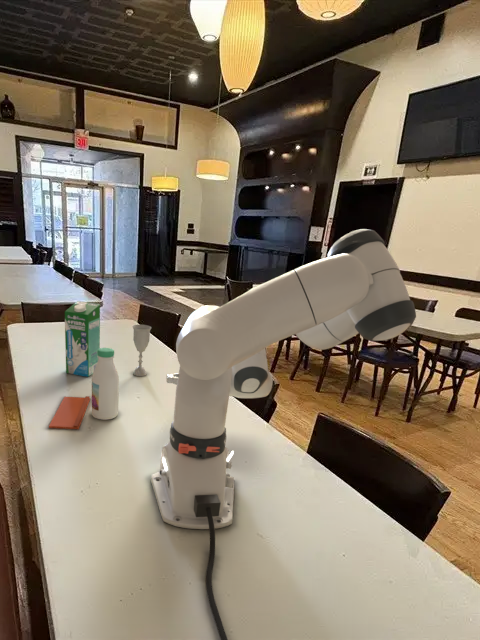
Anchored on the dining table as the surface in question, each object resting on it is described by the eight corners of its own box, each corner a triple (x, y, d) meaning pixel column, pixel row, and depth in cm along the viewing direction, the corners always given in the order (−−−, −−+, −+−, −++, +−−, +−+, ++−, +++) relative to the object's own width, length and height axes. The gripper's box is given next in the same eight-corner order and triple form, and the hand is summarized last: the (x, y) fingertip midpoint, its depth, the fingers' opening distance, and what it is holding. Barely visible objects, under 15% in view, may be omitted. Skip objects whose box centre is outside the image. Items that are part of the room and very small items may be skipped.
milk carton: (65, 372, 150) (64, 304, 141) (78, 365, 158) (77, 300, 149) (88, 377, 148) (88, 308, 139) (99, 369, 156) (100, 303, 147)
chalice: (128, 371, 157) (129, 324, 151) (144, 369, 160) (147, 324, 153) (134, 377, 151) (136, 329, 144) (151, 376, 154) (154, 329, 147)
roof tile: (78, 429, 112) (78, 425, 112) (48, 428, 111) (48, 424, 111) (90, 399, 130) (90, 396, 130) (64, 398, 130) (64, 395, 130)
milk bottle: (120, 409, 125) (121, 346, 118) (115, 421, 118) (117, 354, 111) (94, 407, 125) (94, 344, 118) (88, 419, 118) (88, 352, 111)
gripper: (211, 359, 127) (166, 356, 126) (220, 384, 108) (168, 380, 107) (209, 378, 130) (165, 375, 129) (218, 405, 111) (166, 402, 110)
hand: (166, 378), depth 118 cm, fingers closed
